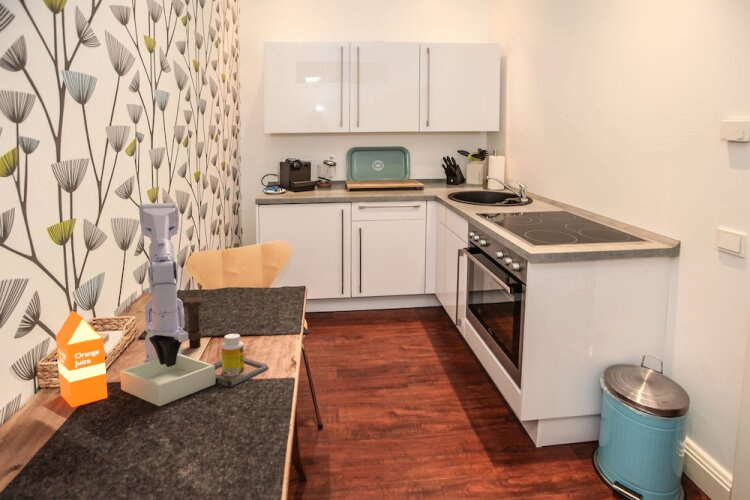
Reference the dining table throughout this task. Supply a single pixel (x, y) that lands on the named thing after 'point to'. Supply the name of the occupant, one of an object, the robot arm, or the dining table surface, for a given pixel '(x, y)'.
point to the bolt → (194, 321)
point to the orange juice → (81, 362)
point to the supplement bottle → (232, 355)
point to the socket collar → (240, 378)
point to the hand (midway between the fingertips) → (167, 364)
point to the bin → (167, 379)
